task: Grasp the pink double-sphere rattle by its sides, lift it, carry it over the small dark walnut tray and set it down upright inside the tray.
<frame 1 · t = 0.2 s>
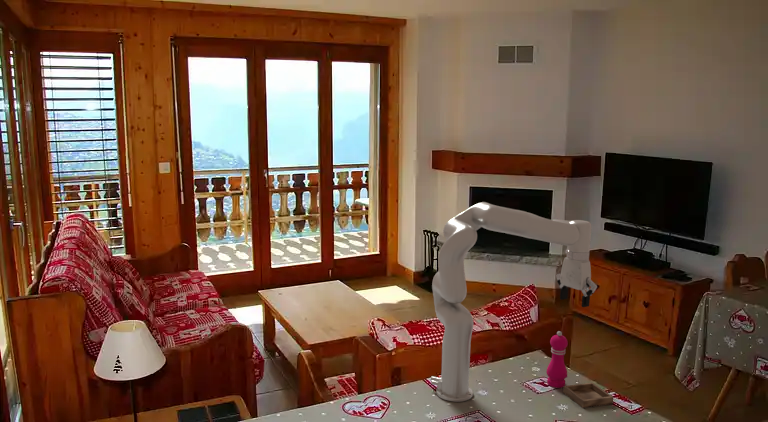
hand: (574, 302, 212), 31 cm above the table, tool pointing down, fingers open, 9 cm apart
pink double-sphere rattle: (556, 384, 216), on the table
walnut tray: (587, 398, 205), on the table
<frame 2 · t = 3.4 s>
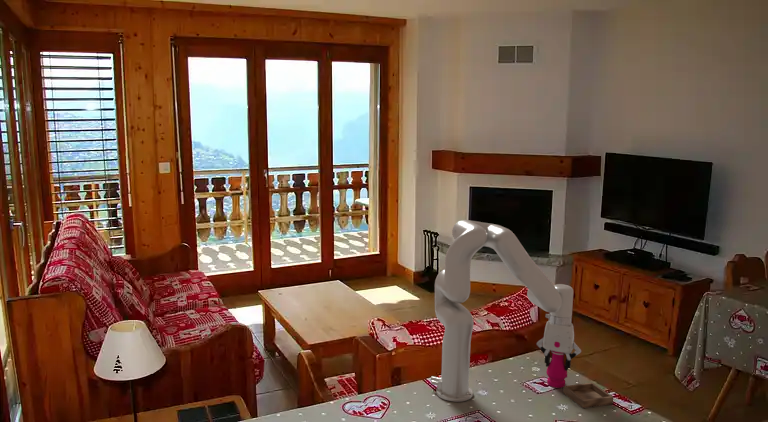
hand: (557, 366, 215), 7 cm above the table, tool pointing down, fingers closed on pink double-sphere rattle, 6 cm apart
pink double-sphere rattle: (556, 384, 216), on the table, touching gripper
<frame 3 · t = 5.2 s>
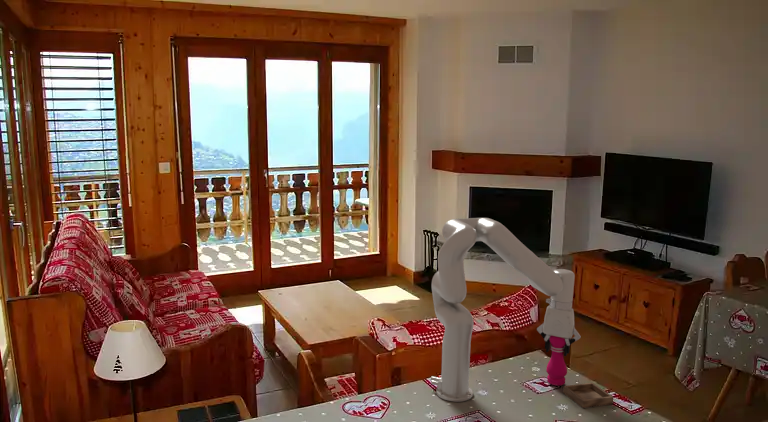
hand: (556, 352, 214), 12 cm above the table, tool pointing down, fingers closed on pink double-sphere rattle, 5 cm apart
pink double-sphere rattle: (556, 382, 216), point 1 cm above the table, touching gripper
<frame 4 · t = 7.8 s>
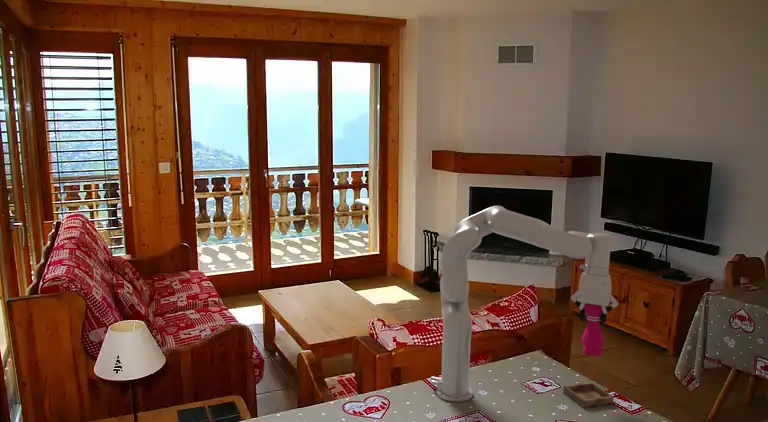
hand: (592, 321, 201), 27 cm above the table, tool pointing down, fingers closed on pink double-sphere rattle, 5 cm apart
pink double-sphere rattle: (592, 353, 203), point 16 cm above the table, touching gripper
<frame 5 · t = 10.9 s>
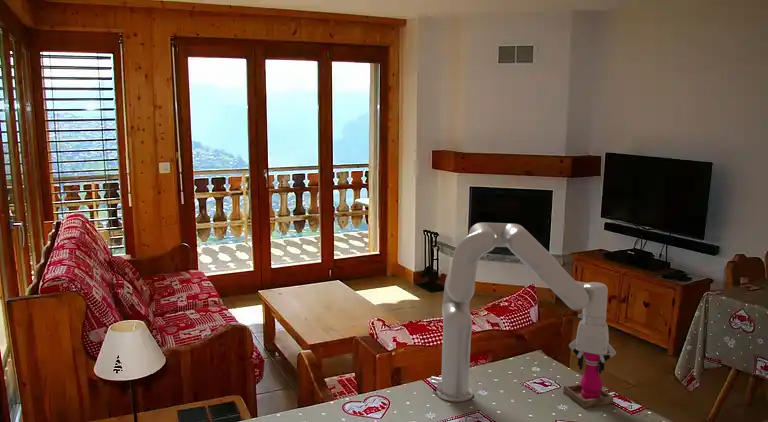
hand: (590, 369, 204), 11 cm above the table, tool pointing down, fingers open, 5 cm apart
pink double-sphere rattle: (590, 397, 205), resting on walnut tray
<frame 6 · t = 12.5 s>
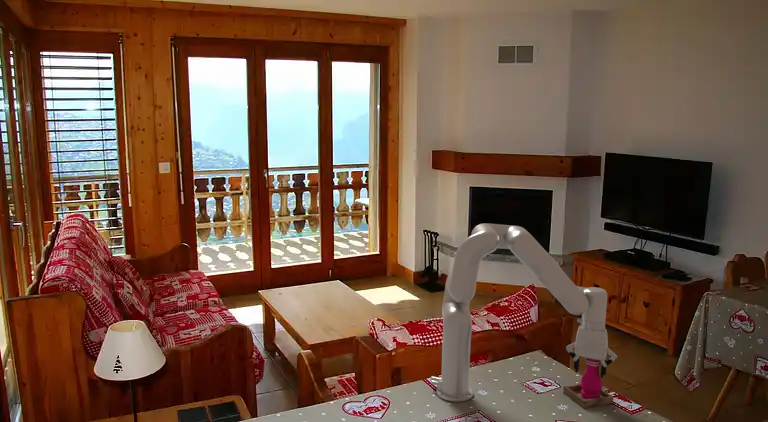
hand: (589, 373, 204), 9 cm above the table, tool pointing down, fingers open, 7 cm apart
nothing on the table moved.
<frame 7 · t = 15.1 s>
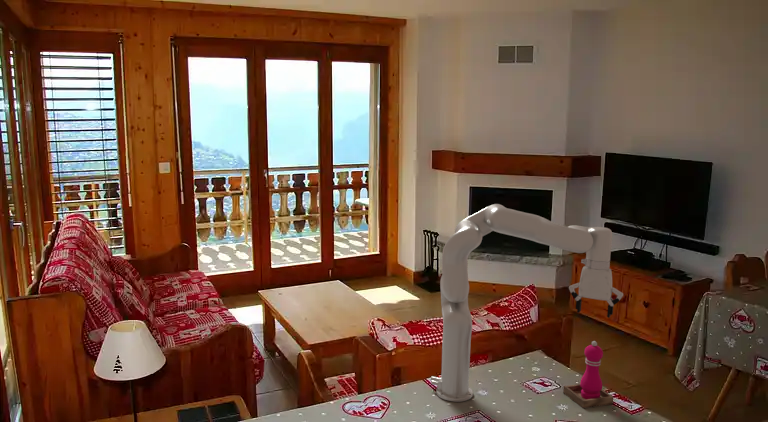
hand: (593, 314, 201), 30 cm above the table, tool pointing down, fingers open, 9 cm apart
nothing on the table moved.
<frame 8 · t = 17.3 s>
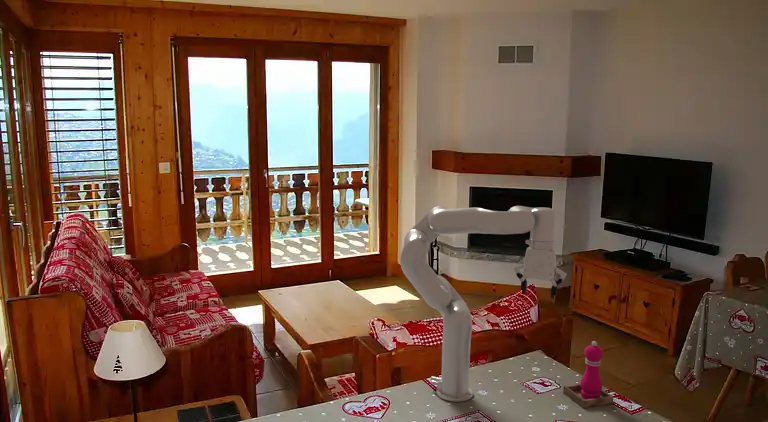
hand: (538, 294, 201), 36 cm above the table, tool pointing down, fingers open, 9 cm apart
nothing on the table moved.
at the end: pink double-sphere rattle 0.9 cm off-centre on the walnut tray, point 0.4 cm above the walnut tray's base; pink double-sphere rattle tilted 0°; the gripper is holding nothing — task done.
